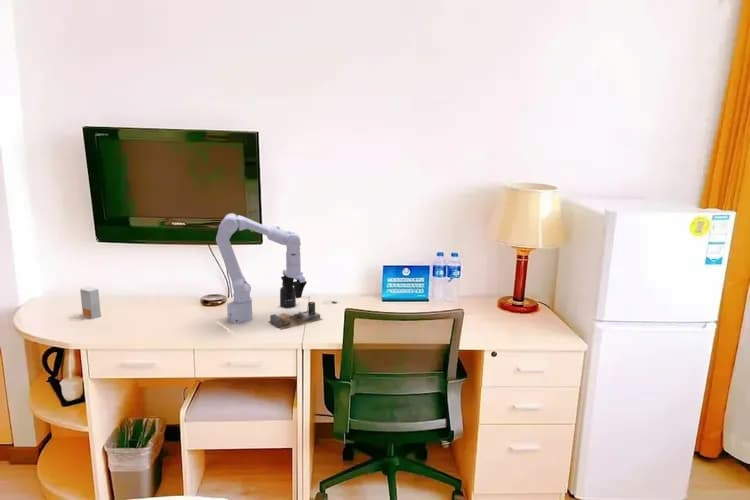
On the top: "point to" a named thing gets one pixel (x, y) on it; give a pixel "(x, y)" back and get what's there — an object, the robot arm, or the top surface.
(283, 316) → the tan wooden ball
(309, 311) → the ram
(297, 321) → the bench
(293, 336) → the top surface
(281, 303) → the supplement bottle
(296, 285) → the robot arm
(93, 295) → the skincare box
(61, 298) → the top surface
